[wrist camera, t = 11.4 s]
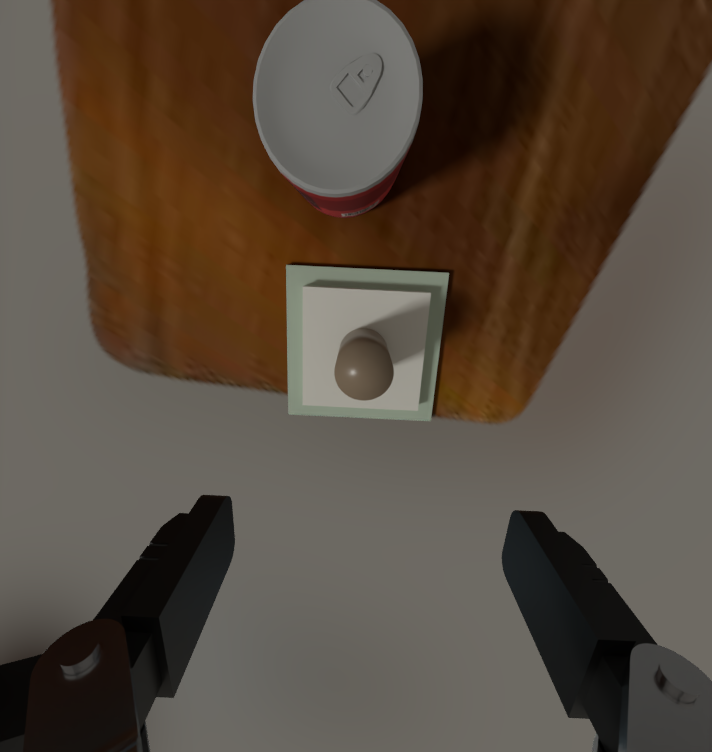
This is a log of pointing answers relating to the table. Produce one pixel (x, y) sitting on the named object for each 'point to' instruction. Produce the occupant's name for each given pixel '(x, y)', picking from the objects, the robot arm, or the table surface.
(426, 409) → the mat
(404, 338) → the lid
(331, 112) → the canned food
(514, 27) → the table surface
